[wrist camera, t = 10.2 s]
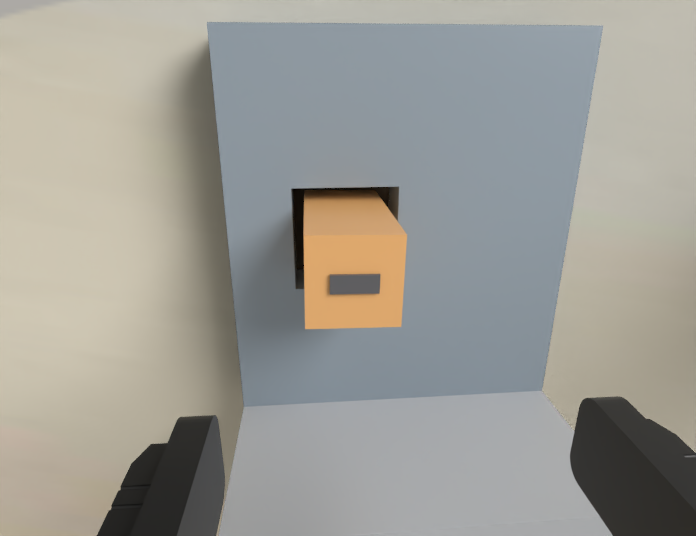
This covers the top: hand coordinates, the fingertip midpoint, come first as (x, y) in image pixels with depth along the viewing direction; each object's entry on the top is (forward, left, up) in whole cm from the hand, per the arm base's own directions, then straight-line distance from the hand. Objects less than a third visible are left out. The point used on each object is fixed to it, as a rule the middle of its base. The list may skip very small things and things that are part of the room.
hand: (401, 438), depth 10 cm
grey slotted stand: (-3, 0, -18) cm, 18 cm away
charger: (0, 0, -18) cm, 18 cm away
